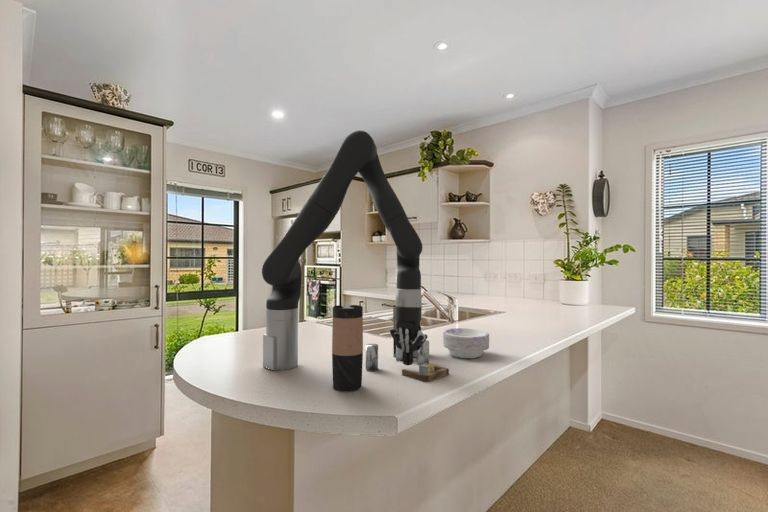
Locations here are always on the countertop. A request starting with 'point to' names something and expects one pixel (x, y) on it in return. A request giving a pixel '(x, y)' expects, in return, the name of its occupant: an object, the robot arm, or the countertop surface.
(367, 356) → the spacer
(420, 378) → the tray
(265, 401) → the countertop surface
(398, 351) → the block
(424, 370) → the alphabet block
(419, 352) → the spacer
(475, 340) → the marble bowl
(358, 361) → the travel mug
